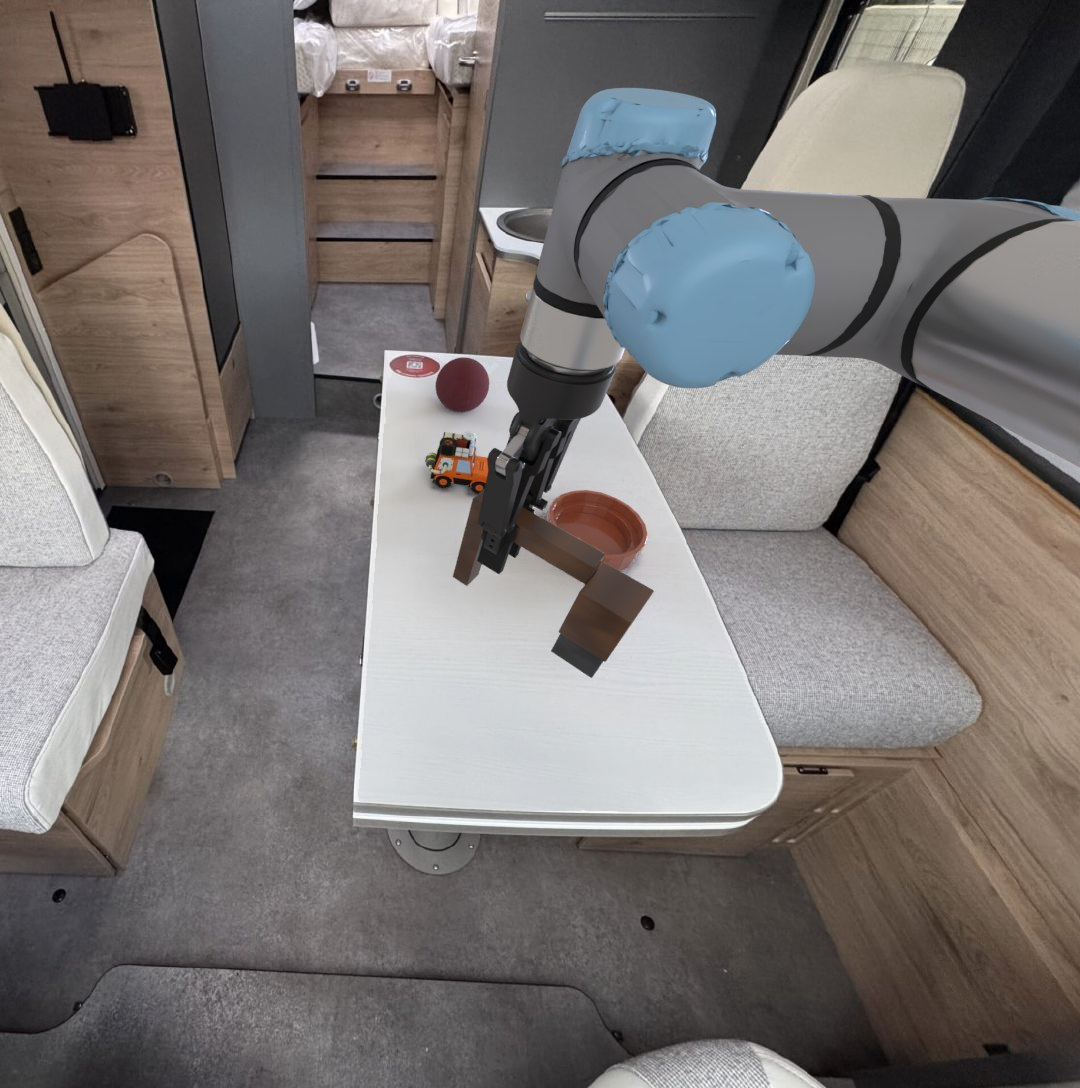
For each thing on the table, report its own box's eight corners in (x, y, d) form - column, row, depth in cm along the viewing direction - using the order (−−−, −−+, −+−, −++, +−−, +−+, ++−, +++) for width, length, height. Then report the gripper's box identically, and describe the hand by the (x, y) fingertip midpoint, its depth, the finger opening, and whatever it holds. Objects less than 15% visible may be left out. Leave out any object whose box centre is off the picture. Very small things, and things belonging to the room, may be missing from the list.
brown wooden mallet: (445, 583, 65) (465, 504, 56) (470, 559, 67) (493, 480, 59) (592, 681, 57) (642, 607, 48) (614, 649, 60) (665, 574, 51)
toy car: (424, 461, 100) (431, 419, 94) (493, 471, 99) (505, 429, 93) (420, 487, 95) (428, 444, 89) (493, 498, 94) (505, 455, 88)
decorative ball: (472, 428, 107) (483, 381, 100) (423, 412, 110) (430, 364, 103) (490, 403, 113) (502, 357, 106) (444, 388, 116) (452, 342, 109)
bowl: (652, 572, 85) (664, 554, 82) (561, 578, 83) (569, 560, 80) (612, 506, 94) (622, 488, 91) (529, 510, 93) (536, 492, 90)
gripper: (570, 303, 49) (505, 504, 66) (468, 370, 41) (425, 579, 58) (655, 333, 46) (564, 537, 63) (563, 413, 38) (488, 621, 55)
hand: (497, 557), depth 60 cm, fingers closed on brown wooden mallet, 2 cm apart
